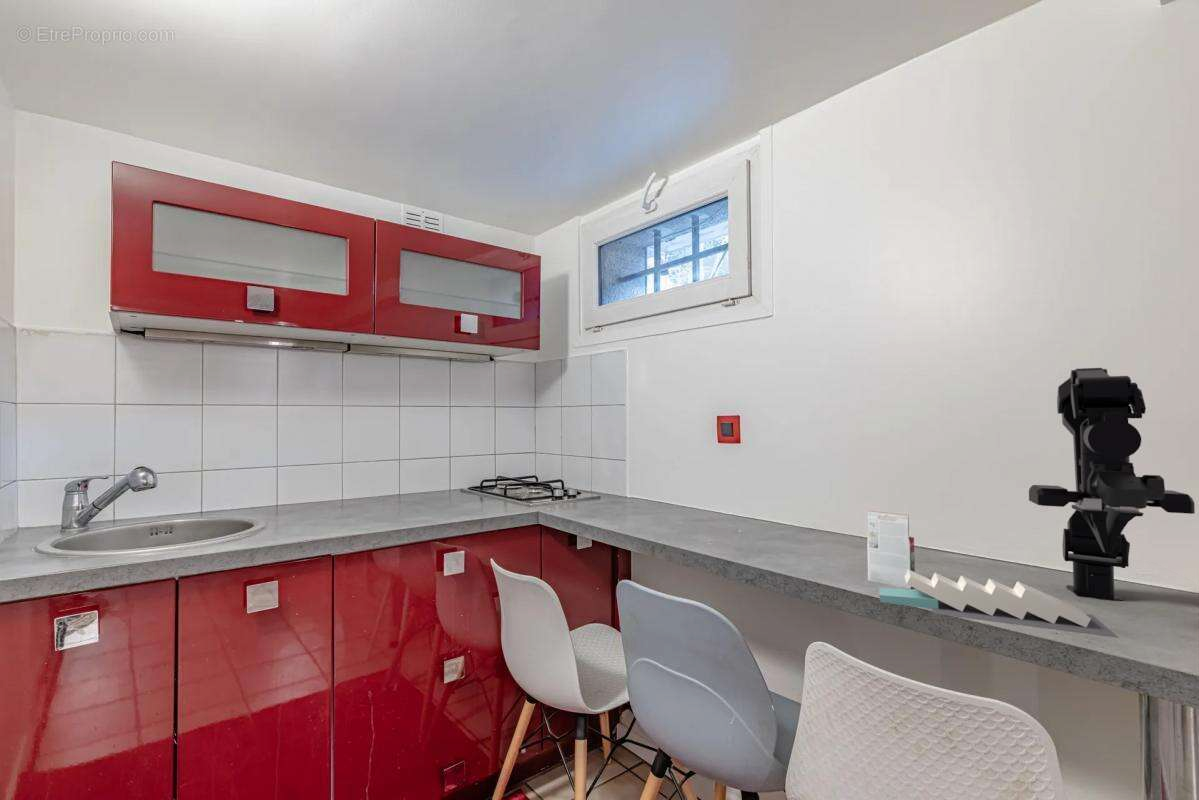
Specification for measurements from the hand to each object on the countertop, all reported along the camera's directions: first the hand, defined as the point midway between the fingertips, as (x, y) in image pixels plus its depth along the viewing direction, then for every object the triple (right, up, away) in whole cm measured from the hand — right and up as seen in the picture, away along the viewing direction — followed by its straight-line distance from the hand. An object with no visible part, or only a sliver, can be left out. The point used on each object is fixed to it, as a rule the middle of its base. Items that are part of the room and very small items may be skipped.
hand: (1107, 552), depth 87 cm
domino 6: (-3, -11, +1) cm, 11 cm away
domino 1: (-21, -11, +10) cm, 26 cm away
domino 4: (-10, -11, +5) cm, 16 cm away
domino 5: (-7, -11, +3) cm, 13 cm away
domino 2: (-18, -11, +8) cm, 22 cm away
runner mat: (-11, -12, +5) cm, 17 cm away
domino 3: (-14, -11, +6) cm, 19 cm away
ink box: (-23, -13, +22) cm, 34 cm away
